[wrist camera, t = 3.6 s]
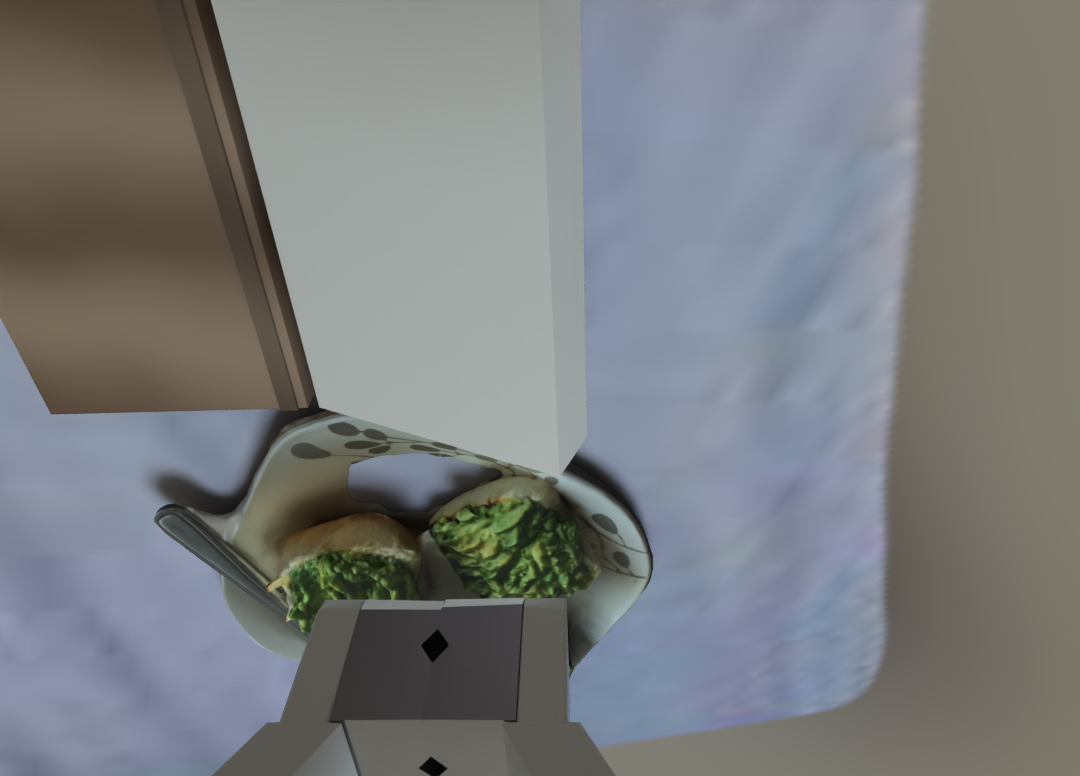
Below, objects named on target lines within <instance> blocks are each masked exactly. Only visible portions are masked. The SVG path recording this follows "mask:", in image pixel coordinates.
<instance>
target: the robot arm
mask: <svg viewBox="0 0 1080 776" xmlns="http://www.w3.org/2000/svg"><path fill="white" fill-rule="evenodd" d="M212 776H616V775H615V774H614V773H613V771H612V769H611V768H610V766H609V765H608V763H607V762H606V760H605V759H604V757H603V756H602V755H601V753H600V752H599V750H598V749H597V747H596V746H595V744H594V743H593V741H592V740H591V738H590V737H589V735H588V734H587V732H586V731H585V729H584V728H583V726H582V725H581V723H577V722H570V690H569V659H568V628H567V603H566V598H543V599H525V598H495V599H449V600H445V601H414V600H325V602H324V603H323V605H322V606H321V607H320V609H319V610H318V612H317V614H316V617H315V620H314V623H313V626H312V629H311V632H310V635H309V638H308V641H307V644H306V647H305V649H304V652H303V655H302V658H301V661H300V664H299V667H298V670H297V673H296V676H295V679H294V682H293V684H292V687H291V690H290V693H289V696H288V699H287V702H286V705H285V708H284V711H283V714H282V717H281V719H280V722H274V723H266V724H265V725H264V726H263V727H262V728H261V729H260V730H259V731H258V732H257V733H256V734H255V735H254V736H253V737H252V738H251V739H249V740H248V741H247V742H246V743H245V744H244V745H243V746H242V747H241V748H240V749H239V750H238V751H237V752H236V753H235V754H234V755H233V756H232V757H231V758H230V759H229V760H228V761H227V762H225V763H224V764H223V765H222V766H221V767H220V768H219V769H218V770H217V771H216V772H215V773H214V774H213V775H212Z"/></svg>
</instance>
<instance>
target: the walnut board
mask: <svg viewBox="0 0 1080 776" xmlns="http://www.w3.org/2000/svg"><path fill="white" fill-rule="evenodd" d="M0 317H1V319H2V321H3V323H4V325H5V327H6V329H7V331H8V333H9V335H10V337H11V339H12V340H13V342H14V344H15V346H16V348H17V350H18V352H19V354H20V356H21V358H22V360H23V361H24V363H25V365H26V367H27V369H28V371H29V373H30V375H31V377H32V379H33V381H34V382H35V384H36V386H37V388H38V390H39V392H40V394H41V396H42V398H43V400H44V402H45V404H46V405H47V407H48V409H49V411H50V413H51V414H85V413H124V412H163V411H201V410H240V409H279V408H280V411H298V409H299V408H308V406H309V404H310V402H311V400H312V398H313V396H314V394H315V389H314V385H313V381H312V378H311V374H310V370H309V366H308V363H307V359H306V355H305V351H304V348H303V344H302V340H301V336H300V333H299V329H298V325H297V321H296V318H295V314H294V310H293V306H292V303H291V299H290V295H289V291H288V288H287V284H286V280H285V276H284V273H283V269H282V265H281V261H280V258H279V254H278V250H277V246H276V243H275V239H274V235H273V231H272V228H271V224H270V220H269V216H268V213H267V209H266V205H265V201H264V198H263V194H262V190H261V186H260V183H259V179H258V175H257V171H256V168H255V164H254V160H253V156H252V153H251V149H250V145H249V141H248V138H247V134H246V130H245V126H244V123H243V119H242V115H241V111H240V108H239V104H238V100H237V96H236V93H235V89H234V85H233V81H232V78H231V74H230V70H229V66H228V63H227V59H226V55H225V51H224V48H223V44H222V40H221V36H220V33H219V29H218V25H217V21H216V18H215V14H214V10H213V6H212V3H211V0H0Z"/></svg>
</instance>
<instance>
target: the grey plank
mask: <svg viewBox="0 0 1080 776" xmlns="http://www.w3.org/2000/svg"><path fill="white" fill-rule="evenodd" d="M211 3H212V6H213V10H214V14H215V18H216V21H217V25H218V29H219V33H220V36H221V40H222V44H223V48H224V51H225V55H226V59H227V63H228V66H229V70H230V74H231V78H232V81H233V85H234V89H235V93H236V96H237V100H238V104H239V108H240V111H241V115H242V119H243V123H244V126H245V130H246V134H247V138H248V141H249V145H250V149H251V153H252V156H253V160H254V164H255V168H256V171H257V175H258V179H259V183H260V186H261V190H262V194H263V198H264V201H265V205H266V209H267V213H268V216H269V220H270V224H271V228H272V231H273V235H274V239H275V243H276V246H277V250H278V254H279V258H280V261H281V265H282V269H283V273H284V276H285V280H286V284H287V288H288V291H289V295H290V299H291V303H292V306H293V310H294V314H295V318H296V321H297V325H298V329H299V333H300V336H301V340H302V344H303V348H304V351H305V355H306V359H307V363H308V366H309V370H310V374H311V378H312V381H313V385H314V389H315V393H316V396H317V400H318V404H319V407H320V408H323V409H326V410H330V411H333V412H337V413H340V414H344V415H347V416H351V417H354V418H358V419H361V420H364V421H368V422H371V423H375V424H378V425H382V426H385V427H389V428H392V429H396V430H399V431H402V432H406V433H409V434H413V435H416V436H420V437H423V438H427V439H430V440H434V441H437V442H440V443H444V444H447V445H451V446H454V447H458V448H461V449H465V450H468V451H472V452H475V453H478V454H482V455H485V456H489V457H492V458H496V459H499V460H503V461H506V462H509V463H513V464H516V465H520V466H523V467H527V468H530V469H534V470H537V471H541V472H544V473H547V474H551V475H554V476H558V477H560V476H561V474H562V473H563V471H564V470H565V468H566V467H567V466H568V464H569V463H570V461H571V460H572V458H573V457H574V455H575V454H576V452H577V451H578V450H579V448H580V447H581V445H582V444H583V442H584V441H585V439H586V438H587V426H586V360H585V294H584V228H583V161H582V95H581V29H580V0H211Z"/></svg>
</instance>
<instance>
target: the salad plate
mask: <svg viewBox="0 0 1080 776" xmlns="http://www.w3.org/2000/svg"><path fill="white" fill-rule="evenodd" d="M408 453H425V454H431V455H435V456H439V457H446V456H449V457H454V458H457V459H460V460H463V461H465V462H469V463H474V464H478V465H481V466H484V467H487V468H490V469H494V470H497V471H499V472H501V473H502V476H501V478H500V479H497V480H494V481H484V482H482V483H480V484H478V485H477V486H476V487H475V488H474V489H472V490H469V491H467V492H464V493H463V494H461V495H459V496H458V497H456V498H455V499H453V500H452V501H450V502H449V503H447V504H446V505H442V506H439V507H435V508H433V509H432V510H430V511H428V512H394V511H388V510H387V509H385V508H384V507H383V506H381V505H380V504H378V503H371V502H357V501H354V500H352V499H351V498H350V496H349V493H348V486H347V483H348V475H349V467H350V465H351V464H354V463H358V462H361V461H364V460H367V459H370V458H373V457H377V456H383V455H398V454H408ZM154 521H155V523H156V524H157V525H158V526H159V527H160V528H161V529H162V530H163V531H164V532H165V533H166V534H167V535H169V536H170V537H171V538H173V539H174V540H175V541H177V542H178V543H180V544H181V545H182V546H184V547H185V548H186V549H187V550H189V551H190V552H191V553H193V554H195V555H196V556H197V557H198V558H200V559H201V560H202V561H204V562H205V563H207V564H208V565H209V566H211V567H212V568H213V569H215V570H216V571H218V572H219V573H220V575H221V579H222V592H223V596H224V599H225V603H226V605H227V607H228V609H229V611H230V612H231V613H232V615H233V616H234V618H235V619H236V621H237V622H238V623H239V624H240V626H241V627H242V628H243V629H244V631H245V632H246V633H247V634H248V635H249V636H250V637H251V639H252V640H254V641H255V642H256V643H257V644H259V645H260V646H261V647H263V648H264V649H266V650H268V651H270V652H272V653H274V654H277V655H280V656H283V657H286V658H288V659H291V660H294V661H297V662H299V663H300V661H301V658H302V655H303V652H304V649H305V647H306V644H307V641H308V638H309V635H310V632H311V629H312V626H313V623H314V620H315V617H316V614H317V612H318V610H319V609H320V607H321V606H322V605H323V603H324V602H325V600H414V601H445V600H449V599H495V598H525V599H543V598H566V603H567V628H568V659H569V679H570V675H571V674H572V672H573V670H574V668H575V667H576V665H577V664H578V663H580V661H581V660H582V659H583V658H584V657H585V656H586V654H587V653H588V652H589V651H590V650H591V649H592V648H593V647H594V646H595V645H596V644H597V643H598V641H599V639H600V638H601V637H602V636H603V635H605V634H606V633H608V632H609V631H610V630H611V629H612V627H613V626H614V625H615V623H616V622H617V621H618V620H619V619H620V618H621V617H622V616H624V615H625V613H626V612H627V611H628V610H629V609H630V608H631V607H632V605H633V604H634V603H635V601H636V600H637V599H638V597H639V596H640V595H641V593H642V592H643V591H644V590H645V588H646V587H647V585H648V583H649V581H650V579H651V575H652V570H653V555H652V553H651V549H650V546H649V543H648V540H647V537H646V534H645V532H644V529H643V527H642V525H641V523H640V521H639V520H638V518H637V517H636V515H635V514H634V513H633V511H632V510H631V508H630V507H629V506H628V504H627V503H626V502H625V501H624V500H623V499H622V498H621V497H620V496H619V495H618V494H617V493H615V492H614V491H612V490H611V489H610V488H608V487H607V486H606V485H605V484H603V483H602V482H601V481H600V480H598V479H597V478H596V477H594V476H593V475H591V474H590V473H589V472H587V471H585V470H583V469H581V468H580V467H578V466H576V465H574V464H572V463H569V464H568V466H567V467H566V468H565V470H564V471H563V473H562V474H561V476H560V477H558V476H554V475H551V474H547V473H544V472H541V471H537V470H534V469H530V468H527V467H523V466H520V465H516V464H513V463H509V462H506V461H503V460H499V459H496V458H492V457H489V456H485V455H482V454H478V453H475V452H472V451H468V450H465V449H461V448H458V447H454V446H451V445H447V444H444V443H440V442H437V441H434V440H430V439H427V438H423V437H420V436H416V435H413V434H409V433H406V432H402V431H399V430H396V429H392V428H389V427H385V426H382V425H378V424H375V423H371V422H368V421H364V420H361V419H358V418H354V417H351V416H347V415H344V414H340V413H337V412H333V411H330V410H328V411H324V412H320V413H317V414H315V415H312V416H309V417H305V418H301V419H297V420H294V421H292V422H290V423H288V424H286V425H285V426H284V427H283V429H282V430H281V431H280V432H279V433H278V435H277V436H276V437H275V438H274V439H273V440H272V442H271V444H270V447H269V451H268V453H267V454H266V457H265V458H264V459H263V460H262V461H261V463H260V465H259V467H258V470H257V471H256V473H255V474H254V476H253V481H252V483H251V485H250V487H249V489H248V493H247V496H246V497H245V498H244V499H243V500H242V501H241V503H240V504H239V506H238V507H237V508H236V509H235V510H233V511H232V512H230V513H227V514H221V515H218V514H212V513H208V512H204V511H200V510H197V509H195V508H192V507H190V506H187V505H184V504H179V503H174V504H168V505H165V506H163V507H162V508H160V509H159V510H158V511H157V513H156V515H155V518H154Z"/></svg>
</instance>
